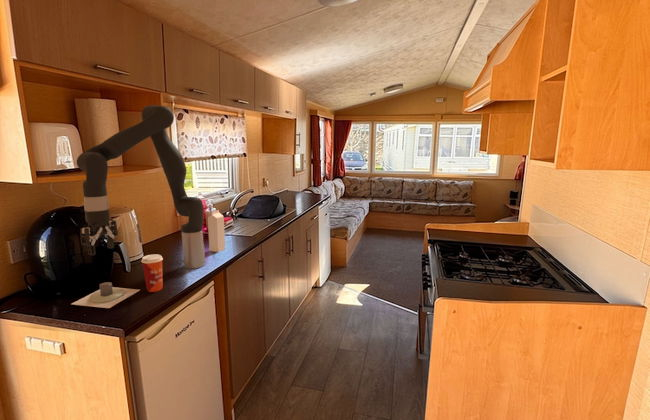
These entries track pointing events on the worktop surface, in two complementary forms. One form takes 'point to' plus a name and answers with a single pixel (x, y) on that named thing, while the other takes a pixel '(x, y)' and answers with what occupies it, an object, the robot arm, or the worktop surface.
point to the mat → (87, 302)
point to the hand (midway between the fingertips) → (101, 251)
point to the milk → (216, 231)
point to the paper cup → (153, 272)
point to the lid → (106, 293)
